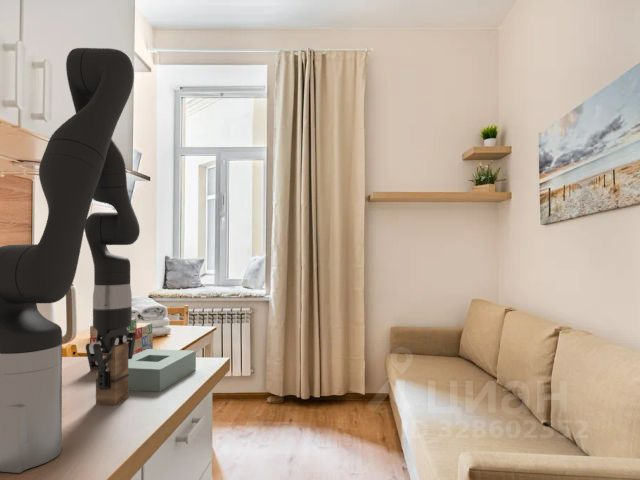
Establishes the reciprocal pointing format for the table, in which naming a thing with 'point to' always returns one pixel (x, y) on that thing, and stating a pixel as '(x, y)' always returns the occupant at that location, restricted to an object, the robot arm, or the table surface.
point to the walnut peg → (115, 377)
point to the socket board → (159, 368)
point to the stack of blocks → (142, 336)
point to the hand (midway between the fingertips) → (112, 384)
